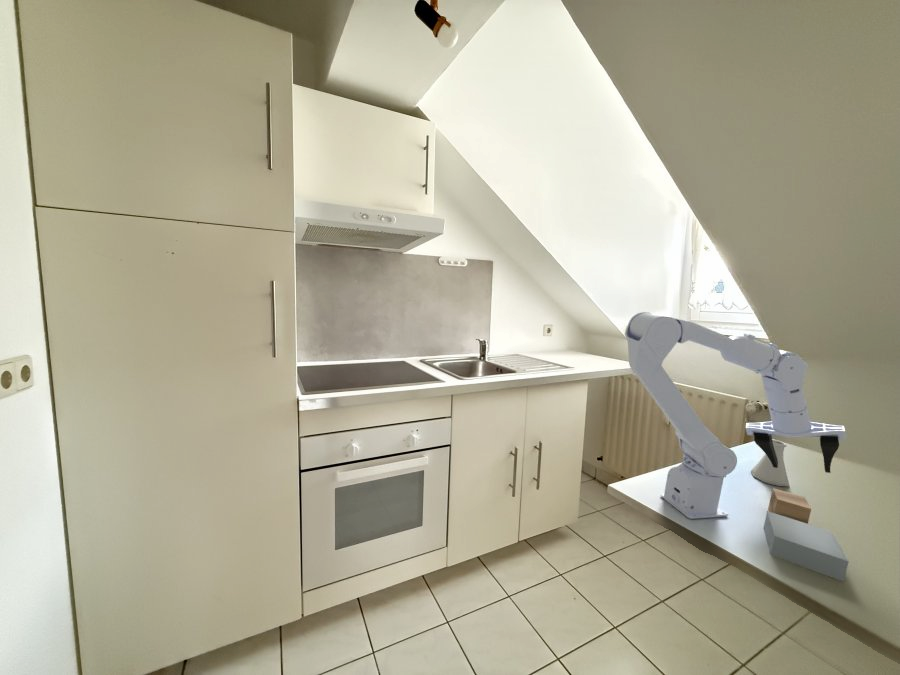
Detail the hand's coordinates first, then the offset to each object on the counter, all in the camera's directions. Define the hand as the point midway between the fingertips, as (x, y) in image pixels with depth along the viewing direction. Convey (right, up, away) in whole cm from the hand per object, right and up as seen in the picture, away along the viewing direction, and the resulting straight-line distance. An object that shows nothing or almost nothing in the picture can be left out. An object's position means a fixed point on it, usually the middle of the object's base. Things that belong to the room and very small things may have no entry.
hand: (800, 467), depth 73 cm
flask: (+8, -9, +17) cm, 21 cm away
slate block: (-9, -12, -9) cm, 18 cm away
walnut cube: (-3, -11, +1) cm, 11 cm away
